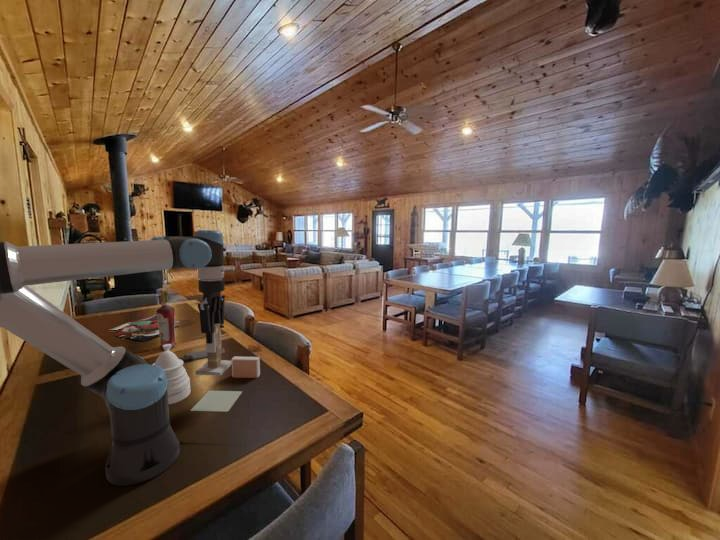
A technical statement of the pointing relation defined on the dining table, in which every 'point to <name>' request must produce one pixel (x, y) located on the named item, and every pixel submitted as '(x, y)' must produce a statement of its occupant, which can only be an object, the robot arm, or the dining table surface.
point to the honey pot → (174, 375)
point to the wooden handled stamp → (215, 359)
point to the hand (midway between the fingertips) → (214, 349)
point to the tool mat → (217, 401)
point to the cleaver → (196, 356)
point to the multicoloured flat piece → (146, 328)
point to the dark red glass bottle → (166, 321)
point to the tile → (246, 367)
